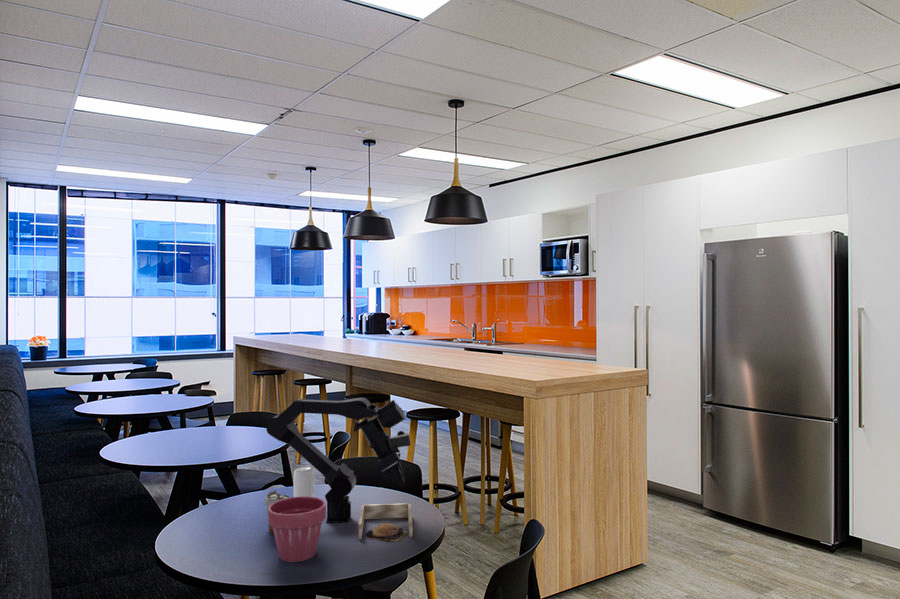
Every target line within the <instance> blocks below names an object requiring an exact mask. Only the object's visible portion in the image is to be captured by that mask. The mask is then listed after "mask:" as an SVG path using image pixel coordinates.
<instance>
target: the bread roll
mask: <svg viewBox="0 0 900 599" xmlns="http://www.w3.org/2000/svg"><path fill="white" fill-rule="evenodd" d="M408 534H409V531H406V530H404V527H399V526H398V525H397V524H396V525H395V524H394V523H393V524H392V523H384V522H383V523H380V524H378V525H377V526H376V527H374V529H373V530H371V529H370V530H367V532H366V533H365V534H364V538H367V539H371V540H378V541H385V542H397V543H398V542H400V541H401V539H403V538H404V537H405V536H406V535H408Z"/></svg>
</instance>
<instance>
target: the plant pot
mask: <svg viewBox="0 0 900 599" xmlns="http://www.w3.org/2000/svg"><path fill="white" fill-rule="evenodd" d="M326 518H327V502H325V500H324V499H322V498H319V497H316V496H314V497H294V496H293V497H290V498H286V499H282V500H279V501H277V502H274V503H273V504H271V505H270V506H269V508H268V511H267V521H268V522H269V523H268V525H269V524H270V525H271V526H272V527H273V532H274V534H273V536H274V540H275V545H276V549H277V552H278V557H279V559H280V560H281V561H284V562H289V563H290V562H291V563H296V562H297V563H298V562H302V561H306V560H310V559H311V558H313V557H314V556H315V555H316V553H317V548H318V545H319V540H320V534H321V530H322V524H323V521H324V520H325V519H326Z"/></svg>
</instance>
